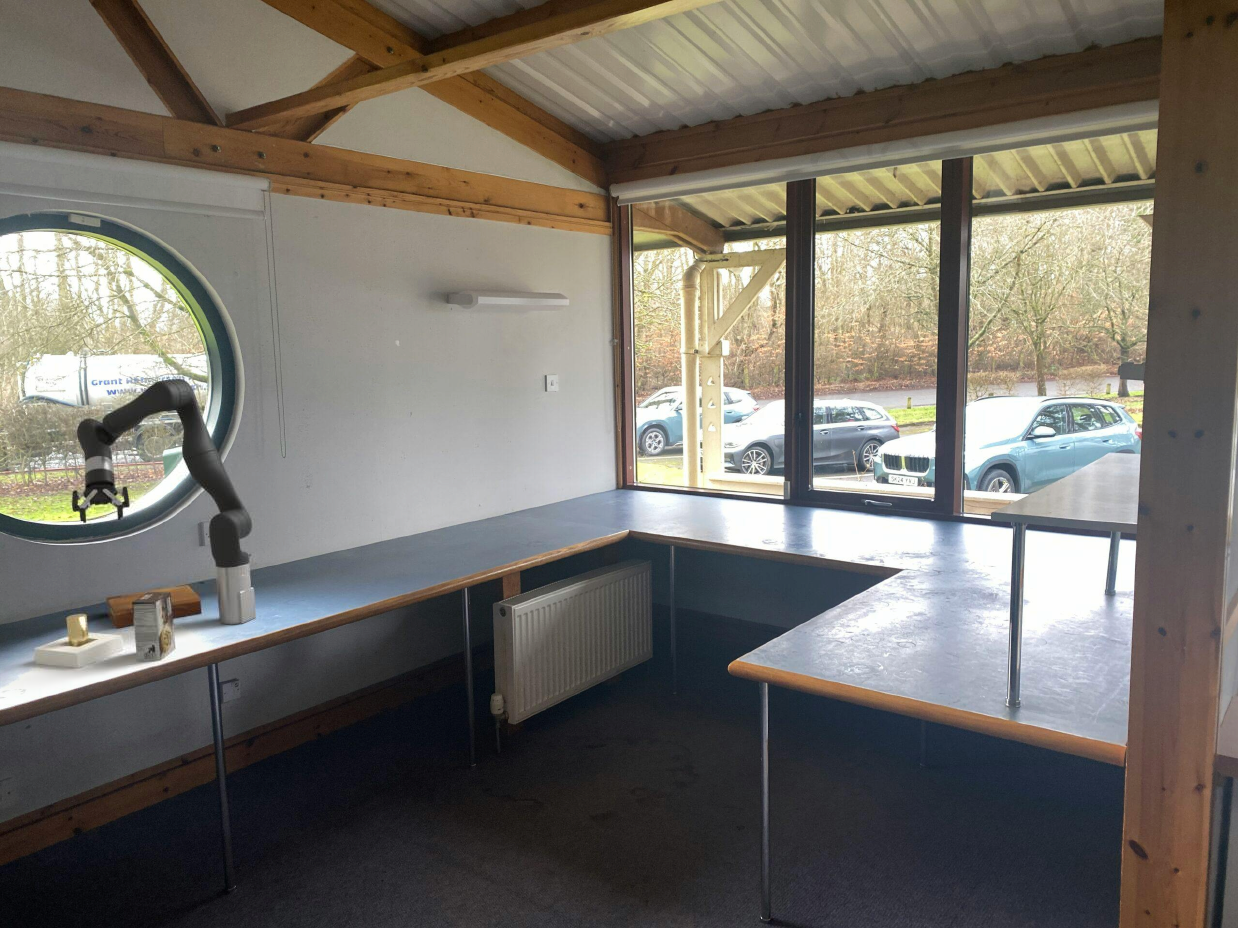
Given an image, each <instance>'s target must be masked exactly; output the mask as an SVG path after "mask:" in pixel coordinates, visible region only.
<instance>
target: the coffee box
mask: <svg viewBox="0 0 1238 928" xmlns="http://www.w3.org/2000/svg"><path fill="white" fill-rule="evenodd" d="M132 608H133V620H134V626H133V629H134V637H135V638H134V639H135V641H134V642H135V652H136V661H137V662H147V661H148V660H159V661H162V660H163V659H164V658H166V657H167V656H168V655H169V654H171V653H172V652H173V651H174V650H175V649H176V640H175V639H176V638H175V628H174V619H173V614H172V603H171V592H148V593H146V594H144V595H143V596H141V597H139V598H138V599H136V600H135V601H133V602H132ZM165 656H166V657H165ZM148 662H149V661H148Z"/></svg>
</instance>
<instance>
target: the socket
mask: <svg viewBox="0 0 1238 928" xmlns="http://www.w3.org/2000/svg"><path fill="white" fill-rule="evenodd" d="M88 637H89V643H88V644H85V645H82V646H80V647H72V646H69V639H68V635H67V636H65V637H62V638H60V639H57V640H53V641H52V642H48V643H46V644H43V645H41V646H38V647H35V648H33V651H34V661H35V662H34V663H35V665H36V664H38V665H46V666H54V667H55V666H56V667H65V668H72V669H74V668H75V669H80V668H82V667H85V666H88V665H89V664H92V663H94V662H97V661H100V660H102V659H105V658H107V657H110V656H112V655H114V654H117V653H119V652H122V651H123V650H124V647H123V646H124V644H123V637H122V635H118V634H109V633H100V632H99V633H97V632H89V631H88Z"/></svg>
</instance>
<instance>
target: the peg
mask: <svg viewBox="0 0 1238 928" xmlns="http://www.w3.org/2000/svg"><path fill="white" fill-rule="evenodd" d="M66 628H67V636H68V639H69V646H72V647H80V646H82V645H85V644H88V643H89V637H88V632H89V629H88V628H89V627H88V617H87V614H85V613H78V614H77V613H76V614H72V615H69V616H66Z"/></svg>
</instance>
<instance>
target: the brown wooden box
mask: <svg viewBox="0 0 1238 928" xmlns="http://www.w3.org/2000/svg"><path fill="white" fill-rule="evenodd" d="M148 592H171V603H172V614H173V620H174V619H178V618H186V617H191V616H196V615H201V614H202V613H203V611H202V601H201V597H200V596H199V595H198V594H197V593H196V592H195V591H194V589H192V588H191V586H190V585H188V584H185V585H180V586H179V585H178V586H174V587H168V588H161V589H153V590H147V591H141V592H135V593H129V594H122V595H121V594H120V595H115V596H109V597H105V598H106V602H107V604H108V606H109V611H107V615H108V617H109V618H110V620H111V622H112V624H113V626H114V627H115V630H116V629H123V628H129V627H134V620H133V608H132V602H133V601H135V600H136V599H138V598H139V597H141V596H143V595H144V594H146V593H148Z"/></svg>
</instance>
